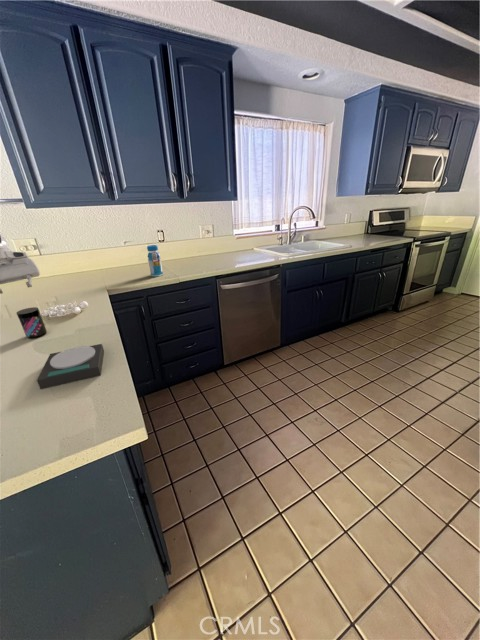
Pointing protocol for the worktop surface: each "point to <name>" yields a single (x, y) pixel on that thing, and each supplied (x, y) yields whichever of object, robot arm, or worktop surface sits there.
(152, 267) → the beverage bottle
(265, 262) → the worktop surface
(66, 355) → the scale
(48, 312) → the white bead necklace
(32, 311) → the supplement container
